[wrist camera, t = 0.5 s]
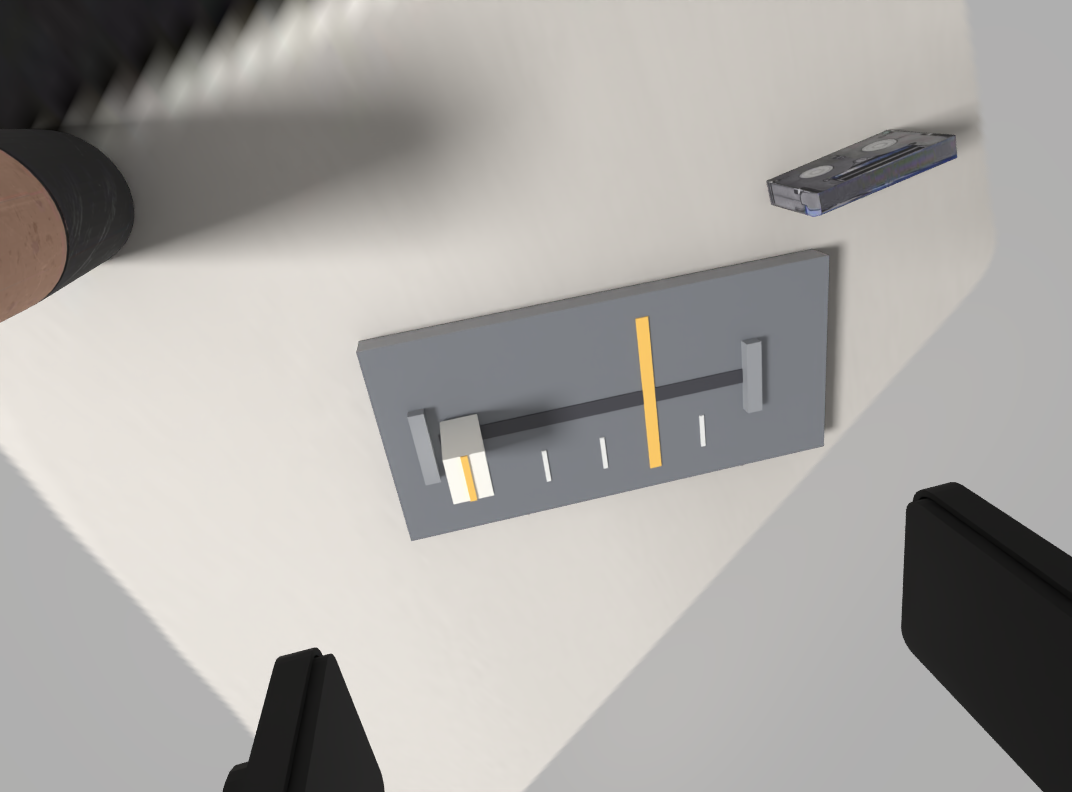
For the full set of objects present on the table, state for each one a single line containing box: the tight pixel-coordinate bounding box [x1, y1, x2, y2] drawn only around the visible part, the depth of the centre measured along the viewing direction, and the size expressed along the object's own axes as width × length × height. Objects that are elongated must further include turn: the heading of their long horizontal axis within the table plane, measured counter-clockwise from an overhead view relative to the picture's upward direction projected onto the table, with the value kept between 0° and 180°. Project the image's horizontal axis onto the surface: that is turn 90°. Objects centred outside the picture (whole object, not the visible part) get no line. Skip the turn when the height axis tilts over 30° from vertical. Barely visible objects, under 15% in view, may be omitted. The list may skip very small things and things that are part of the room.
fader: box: [440, 414, 494, 504], centre depth 41 cm, size 3×2×5 cm
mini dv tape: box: [766, 130, 957, 217], centre depth 40 cm, size 8×2×6 cm, turn 111°
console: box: [356, 249, 829, 541], centre depth 45 cm, size 14×30×3 cm, turn 99°
